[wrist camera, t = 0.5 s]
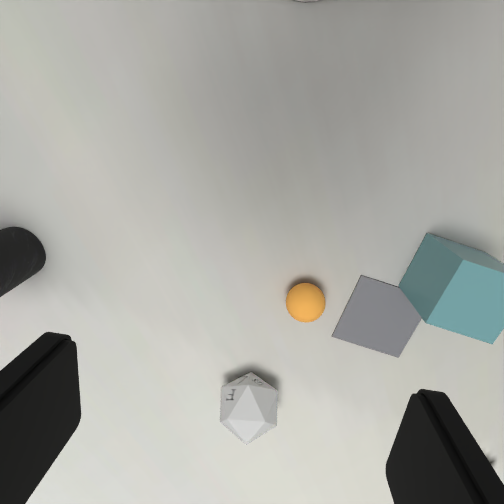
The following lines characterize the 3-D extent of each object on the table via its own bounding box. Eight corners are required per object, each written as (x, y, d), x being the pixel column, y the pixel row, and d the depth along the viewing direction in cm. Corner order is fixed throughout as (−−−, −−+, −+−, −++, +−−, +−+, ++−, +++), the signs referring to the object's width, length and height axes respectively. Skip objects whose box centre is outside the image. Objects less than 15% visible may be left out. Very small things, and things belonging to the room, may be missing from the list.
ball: (293, 271, 44) (294, 289, 40) (328, 283, 45) (334, 301, 40) (280, 303, 46) (280, 323, 42) (314, 313, 46) (318, 335, 42)
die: (282, 364, 51) (243, 383, 43) (296, 424, 49) (258, 455, 41) (241, 369, 55) (199, 387, 48) (252, 424, 54) (211, 452, 46)
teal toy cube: (426, 232, 41) (463, 259, 33) (485, 252, 42) (535, 283, 33) (398, 286, 44) (425, 322, 36) (453, 303, 44) (492, 344, 36)
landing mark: (361, 275, 44) (361, 275, 44) (432, 298, 44) (433, 298, 44) (331, 335, 47) (332, 336, 47) (398, 356, 48) (398, 357, 48)
